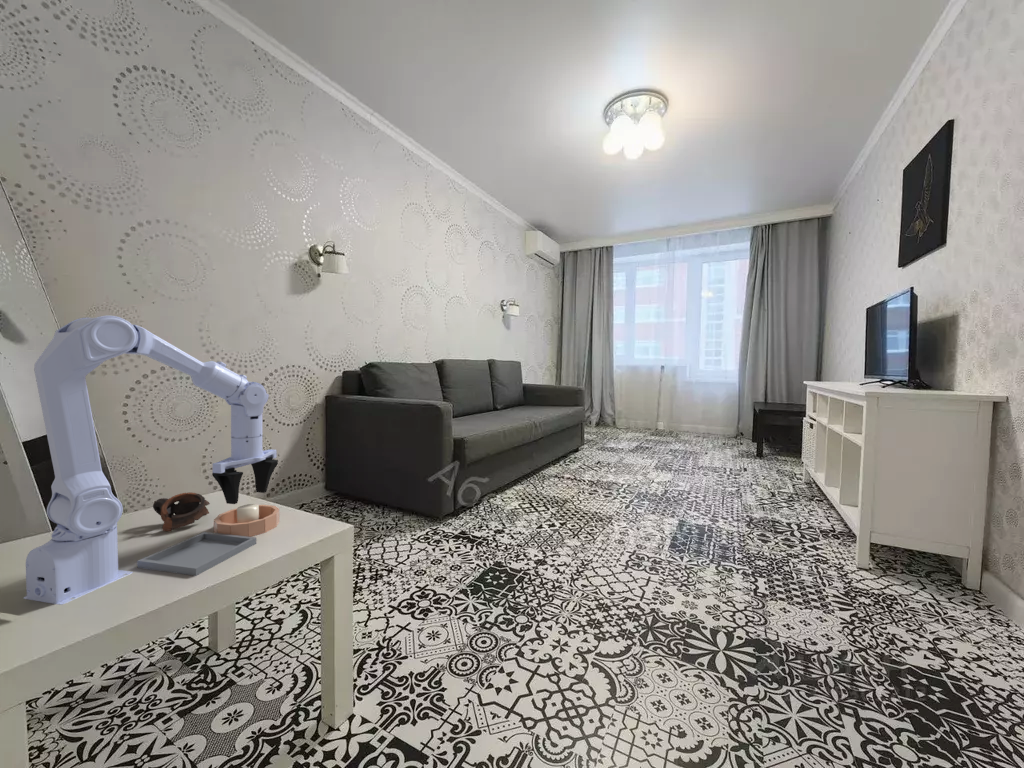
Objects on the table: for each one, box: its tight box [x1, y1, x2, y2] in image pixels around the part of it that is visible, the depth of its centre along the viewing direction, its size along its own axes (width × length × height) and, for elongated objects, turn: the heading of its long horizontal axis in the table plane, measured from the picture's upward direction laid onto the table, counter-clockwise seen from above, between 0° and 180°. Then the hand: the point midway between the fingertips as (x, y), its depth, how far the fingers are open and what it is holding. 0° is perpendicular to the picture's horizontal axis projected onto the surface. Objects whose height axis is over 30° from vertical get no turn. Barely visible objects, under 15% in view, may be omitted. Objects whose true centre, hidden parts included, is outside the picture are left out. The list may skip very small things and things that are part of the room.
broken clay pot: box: [152, 492, 211, 532], centre depth 88 cm, size 12×10×8 cm
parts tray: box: [136, 531, 257, 577], centre depth 74 cm, size 12×12×2 cm
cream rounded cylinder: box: [237, 503, 260, 523], centre depth 86 cm, size 4×4×4 cm
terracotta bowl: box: [213, 504, 281, 537], centre depth 86 cm, size 12×12×4 cm
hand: (247, 497), depth 86 cm, fingers open, 7 cm apart
